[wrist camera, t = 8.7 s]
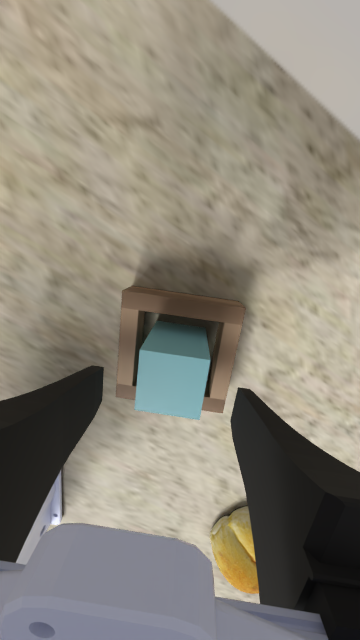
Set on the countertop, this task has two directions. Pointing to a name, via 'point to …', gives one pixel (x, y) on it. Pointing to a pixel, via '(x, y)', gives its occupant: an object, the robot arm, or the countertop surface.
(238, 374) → the countertop surface
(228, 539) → the bread roll
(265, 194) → the countertop surface
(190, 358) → the light blue block
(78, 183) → the countertop surface
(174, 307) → the well frame
